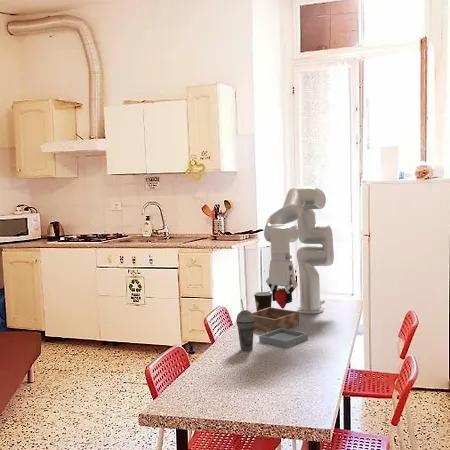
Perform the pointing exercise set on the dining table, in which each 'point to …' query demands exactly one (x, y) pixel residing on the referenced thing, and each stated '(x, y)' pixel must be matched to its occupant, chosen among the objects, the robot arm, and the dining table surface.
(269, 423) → the dining table surface
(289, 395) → the dining table surface
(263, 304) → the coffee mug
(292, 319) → the walnut bin
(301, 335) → the slate tray
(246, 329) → the beverage cup
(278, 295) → the strawberry
